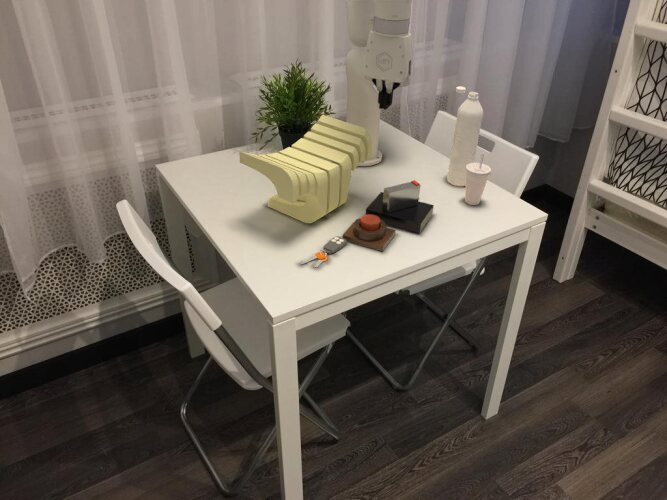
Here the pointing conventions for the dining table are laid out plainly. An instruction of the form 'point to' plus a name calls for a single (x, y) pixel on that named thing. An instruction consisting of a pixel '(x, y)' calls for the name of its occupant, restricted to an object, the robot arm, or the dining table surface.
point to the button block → (369, 236)
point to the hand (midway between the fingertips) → (384, 107)
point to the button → (370, 222)
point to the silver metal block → (401, 196)
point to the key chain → (328, 249)
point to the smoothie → (476, 181)
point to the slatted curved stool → (314, 168)
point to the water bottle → (465, 138)
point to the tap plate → (402, 215)
